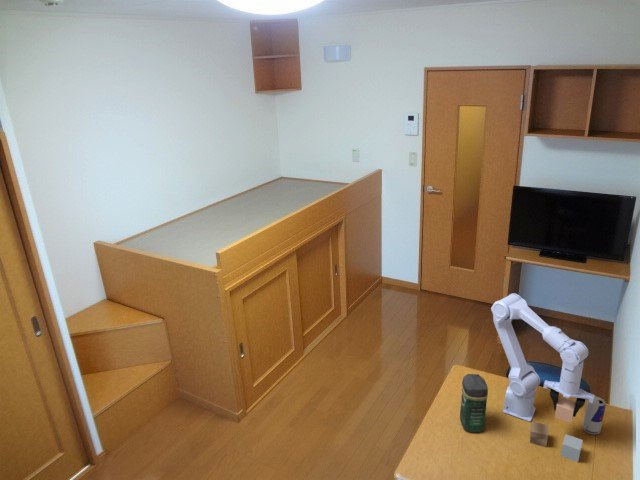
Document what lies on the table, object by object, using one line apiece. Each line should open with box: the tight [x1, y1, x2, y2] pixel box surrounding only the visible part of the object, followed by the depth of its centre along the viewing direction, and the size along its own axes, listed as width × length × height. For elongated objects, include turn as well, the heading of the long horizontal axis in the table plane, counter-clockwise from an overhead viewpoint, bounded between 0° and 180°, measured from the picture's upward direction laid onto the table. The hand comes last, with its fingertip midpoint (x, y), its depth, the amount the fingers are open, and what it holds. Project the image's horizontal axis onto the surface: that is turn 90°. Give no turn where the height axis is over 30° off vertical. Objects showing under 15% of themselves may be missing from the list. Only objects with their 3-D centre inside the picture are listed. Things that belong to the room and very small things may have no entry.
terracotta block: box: [554, 396, 576, 424], centre depth 159 cm, size 5×5×5 cm
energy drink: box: [582, 395, 607, 436], centre depth 163 cm, size 5×5×12 cm
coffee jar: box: [459, 373, 489, 433], centre depth 167 cm, size 10×8×19 cm
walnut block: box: [529, 420, 549, 448], centre depth 161 cm, size 5×5×5 cm
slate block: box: [560, 434, 584, 463], centre depth 155 cm, size 5×5×5 cm
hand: (565, 411), depth 160 cm, fingers closed on terracotta block, 5 cm apart
